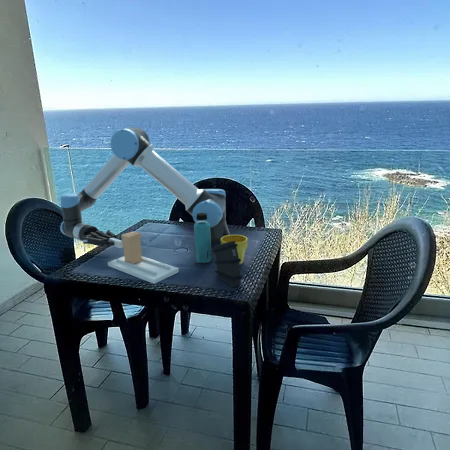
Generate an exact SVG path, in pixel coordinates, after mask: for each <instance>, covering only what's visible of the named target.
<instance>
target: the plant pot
mask: <svg viewBox="0 0 450 450" xmlns="http://www.w3.org/2000/svg"><path fill="white" fill-rule="evenodd" d="M248 239H249V238H248V237H247V236H245V235H242V234H230V235H227V236H224V237H222V238H221V242H220V245H221V244H224V243H227V242H231V241H235V244H238V246H236V248H237V251H238V257H239V259H241V262H239V263H240V265H242V264H243V263H244V259H245V253H246V250H247V248H248V246H249V245H248Z"/></svg>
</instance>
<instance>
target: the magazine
mask: <svg viewBox="0 0 450 450" xmlns="http://www.w3.org/2000/svg"><path fill="white" fill-rule="evenodd" d="M236 246H238V244H235V241H231V242H227V243H224V244H221V243H220V244H217V245H214V246H213V247H212V249H211V251H212V254H213V253H214V256H215V261H214V264H215V265H216V270H215V273H216V276H217V278H219V279H220V280H222V281H224V282H225V283H227V284H228V285H229V286H231V287H232V288H237V287H241V286H242V283H241V281H242V279H243V275H242V273H241V266H240V265H241V264H240V263H239V262H241V259H239V257H238V251H237V248H236Z"/></svg>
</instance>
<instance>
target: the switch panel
mask: <svg viewBox="0 0 450 450" xmlns="http://www.w3.org/2000/svg"><path fill="white" fill-rule="evenodd" d="M107 266H108V267H110V268H112V269H116V270H118V271H120V272H123V273H126V274H128V275H131V276H133V277H136V278H138V279H140V280H143V281H146V282H149V283H150V284H154V285H155V284H158V283H160V282H161V281H163V280H166V279H167V278H170V277H171V276H174V275H175V274H177V273H180V272H179V268H178V267H176V266H173V265H170V264H168V263H167V264H166V263H165V262H160V261H158V260H155V259H152V258H149V257H146V256H143V255H142V261H140V262H137V263H135V264H132V263H129V262H126V261H125V257H124V255H123V256H121V257H118V258H115V259H112V260H111V261H108V262H107Z"/></svg>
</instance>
